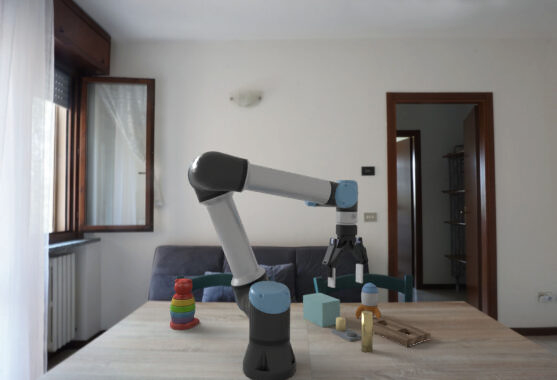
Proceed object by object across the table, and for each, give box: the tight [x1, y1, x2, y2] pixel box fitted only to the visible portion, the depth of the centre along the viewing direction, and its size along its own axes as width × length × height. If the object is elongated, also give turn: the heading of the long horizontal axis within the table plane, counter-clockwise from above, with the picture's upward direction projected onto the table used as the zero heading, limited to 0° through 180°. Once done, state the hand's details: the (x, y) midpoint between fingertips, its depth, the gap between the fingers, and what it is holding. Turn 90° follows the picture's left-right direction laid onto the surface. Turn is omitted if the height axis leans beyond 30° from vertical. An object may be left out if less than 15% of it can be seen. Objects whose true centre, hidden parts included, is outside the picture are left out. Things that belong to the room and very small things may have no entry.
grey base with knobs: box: [331, 316, 361, 342], centre depth 127 cm, size 6×10×5 cm, turn 31°
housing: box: [302, 292, 341, 328], centre depth 143 cm, size 9×13×9 cm
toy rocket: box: [355, 282, 382, 319], centre depth 145 cm, size 10×11×15 cm
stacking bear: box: [169, 278, 201, 331], centre depth 136 cm, size 11×10×18 cm
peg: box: [360, 311, 374, 353], centre depth 114 cm, size 4×4×12 cm
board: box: [373, 316, 432, 347], centre depth 128 cm, size 12×20×2 cm, turn 31°
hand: (345, 284), depth 125 cm, fingers open, 13 cm apart
